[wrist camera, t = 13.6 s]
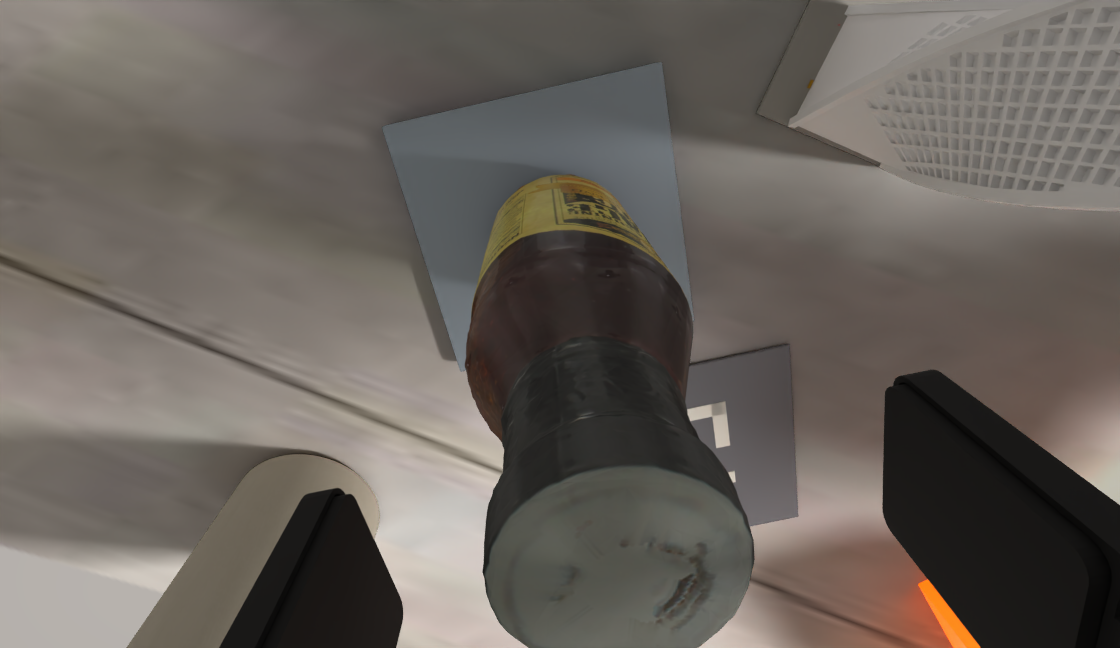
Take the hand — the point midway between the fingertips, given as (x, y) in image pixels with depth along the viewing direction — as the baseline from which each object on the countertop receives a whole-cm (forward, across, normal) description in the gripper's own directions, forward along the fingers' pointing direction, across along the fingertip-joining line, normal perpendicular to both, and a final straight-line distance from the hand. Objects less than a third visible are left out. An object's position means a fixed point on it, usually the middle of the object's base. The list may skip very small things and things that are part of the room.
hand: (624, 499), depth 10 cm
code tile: (+19, -4, +15) cm, 25 cm away
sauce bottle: (+18, +1, 0) cm, 18 cm away
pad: (+19, +1, 0) cm, 19 cm away
